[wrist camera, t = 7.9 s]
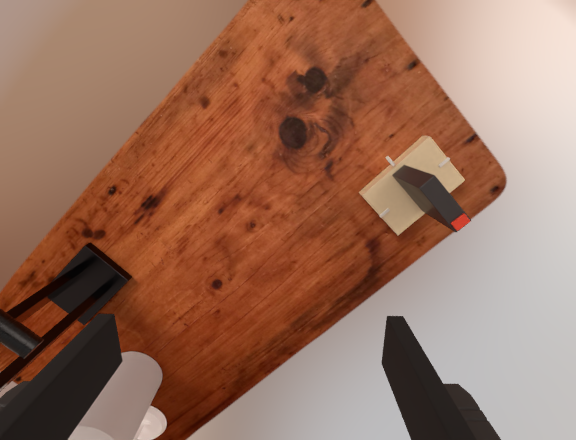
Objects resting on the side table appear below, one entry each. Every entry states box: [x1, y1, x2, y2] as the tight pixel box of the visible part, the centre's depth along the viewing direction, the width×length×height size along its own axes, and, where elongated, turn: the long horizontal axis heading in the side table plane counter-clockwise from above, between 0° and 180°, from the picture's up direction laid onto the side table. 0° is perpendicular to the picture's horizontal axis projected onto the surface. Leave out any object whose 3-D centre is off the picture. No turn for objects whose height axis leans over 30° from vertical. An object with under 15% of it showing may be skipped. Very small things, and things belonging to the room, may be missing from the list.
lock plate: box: [359, 136, 465, 235], centre depth 38 cm, size 10×10×2 cm
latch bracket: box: [0, 243, 132, 392], centre depth 31 cm, size 10×7×26 cm
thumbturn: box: [392, 165, 471, 232], centre depth 33 cm, size 6×2×8 cm, turn 43°
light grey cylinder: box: [68, 351, 162, 440], centre depth 42 cm, size 8×8×12 cm
